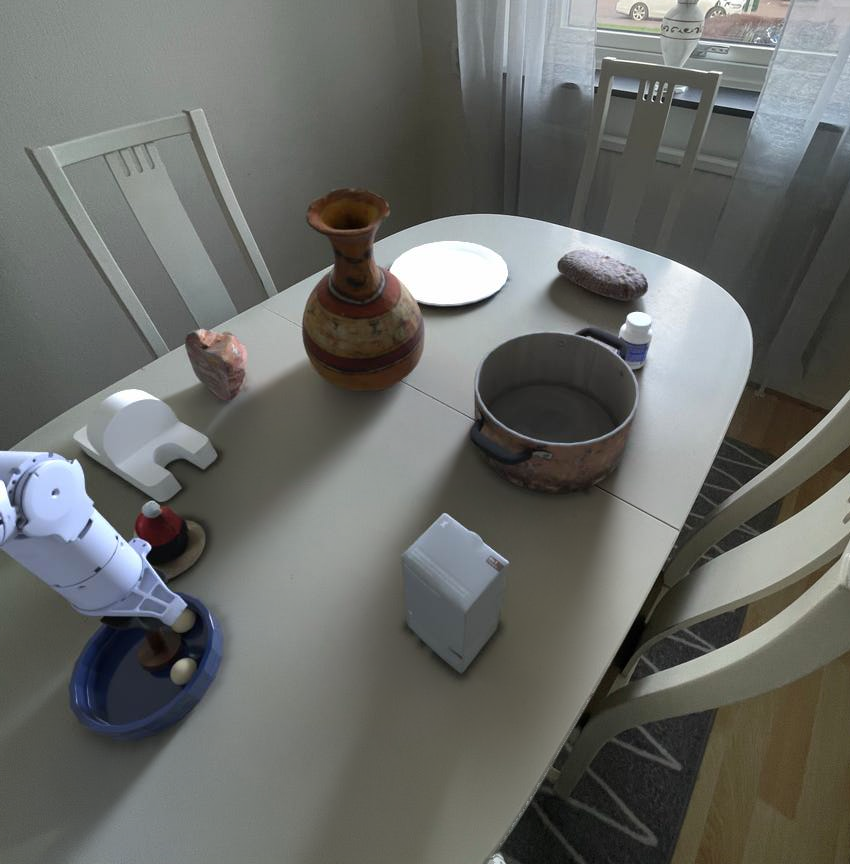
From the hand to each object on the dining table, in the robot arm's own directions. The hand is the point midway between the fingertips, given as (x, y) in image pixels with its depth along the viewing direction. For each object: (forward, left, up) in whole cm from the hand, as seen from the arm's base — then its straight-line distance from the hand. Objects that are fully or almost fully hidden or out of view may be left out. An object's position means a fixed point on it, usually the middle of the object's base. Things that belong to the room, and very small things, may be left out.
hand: (152, 619), depth 53 cm
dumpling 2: (-2, -4, -4) cm, 6 cm away
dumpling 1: (+2, 0, -4) cm, 5 cm away
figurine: (+8, +9, -6) cm, 14 cm away
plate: (+78, +1, -6) cm, 78 cm away
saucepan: (+43, -31, -6) cm, 53 cm away
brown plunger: (-2, 0, -5) cm, 5 cm away
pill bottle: (+64, -39, -6) cm, 75 cm away
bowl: (-3, 0, -6) cm, 7 cm away
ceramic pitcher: (+48, +3, -6) cm, 49 cm away
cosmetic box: (+12, -28, -6) cm, 31 cm away
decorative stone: (+86, -30, -6) cm, 92 cm away
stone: (+36, +22, -6) cm, 43 cm away
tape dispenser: (+19, +23, -6) cm, 30 cm away
